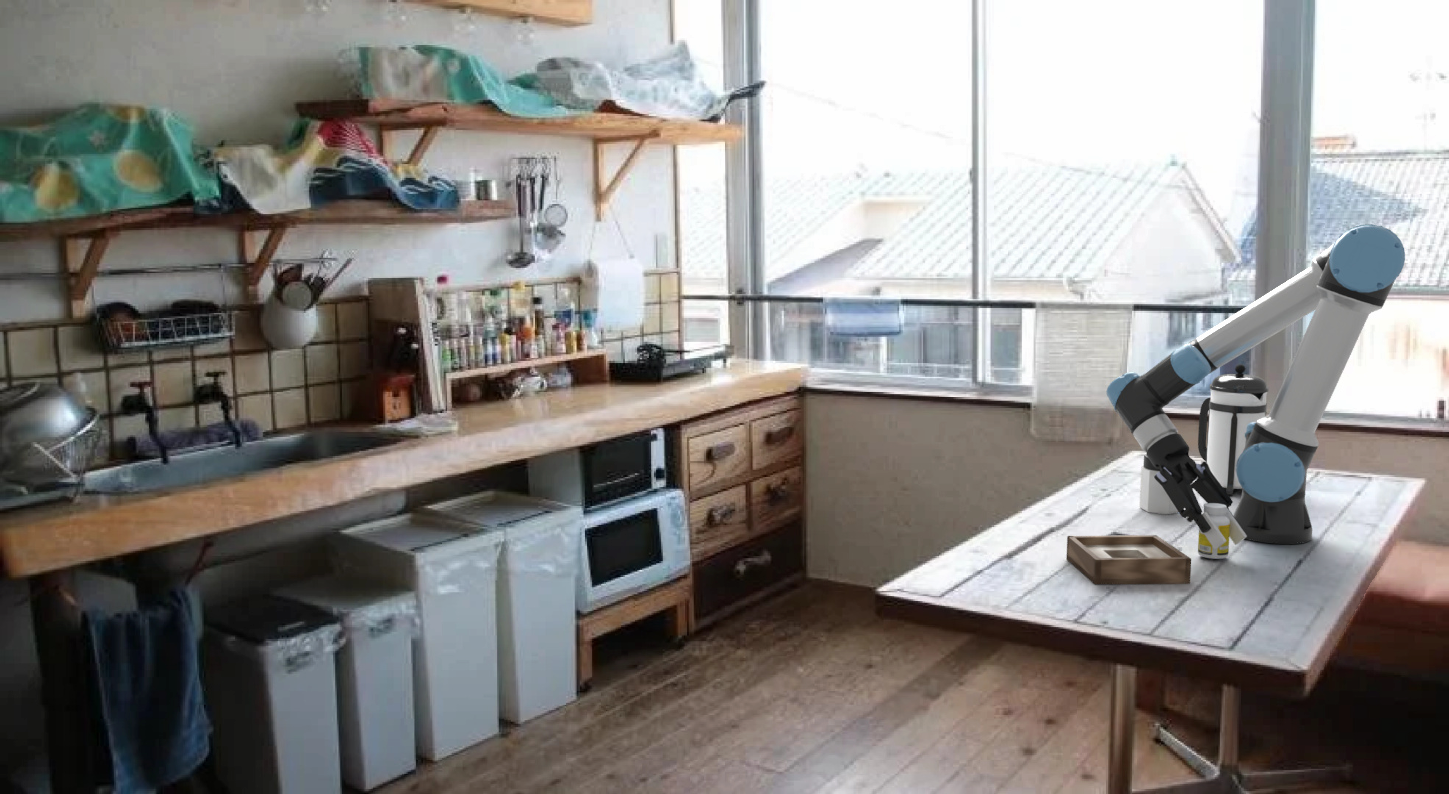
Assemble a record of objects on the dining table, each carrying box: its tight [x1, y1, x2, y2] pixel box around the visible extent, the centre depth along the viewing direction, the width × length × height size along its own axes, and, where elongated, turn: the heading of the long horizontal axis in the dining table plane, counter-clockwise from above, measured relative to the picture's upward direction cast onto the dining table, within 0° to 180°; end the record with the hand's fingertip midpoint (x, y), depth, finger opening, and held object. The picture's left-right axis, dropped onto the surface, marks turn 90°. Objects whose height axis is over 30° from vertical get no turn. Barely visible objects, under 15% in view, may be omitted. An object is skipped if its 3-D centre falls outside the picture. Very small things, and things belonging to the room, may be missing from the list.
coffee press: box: [1197, 363, 1270, 497], centre depth 288 cm, size 17×16×30 cm
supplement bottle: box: [1197, 502, 1230, 560], centre depth 231 cm, size 5×5×10 cm
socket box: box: [1065, 534, 1192, 586], centre depth 223 cm, size 17×16×4 cm
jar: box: [1138, 454, 1179, 515], centre depth 268 cm, size 9×8×12 cm
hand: (1230, 542), depth 228 cm, fingers closed on supplement bottle, 5 cm apart
